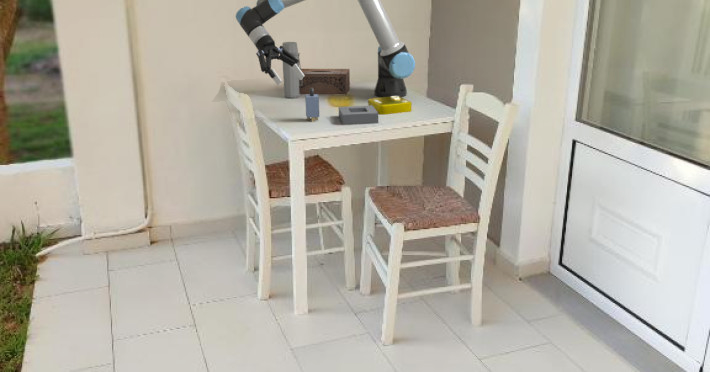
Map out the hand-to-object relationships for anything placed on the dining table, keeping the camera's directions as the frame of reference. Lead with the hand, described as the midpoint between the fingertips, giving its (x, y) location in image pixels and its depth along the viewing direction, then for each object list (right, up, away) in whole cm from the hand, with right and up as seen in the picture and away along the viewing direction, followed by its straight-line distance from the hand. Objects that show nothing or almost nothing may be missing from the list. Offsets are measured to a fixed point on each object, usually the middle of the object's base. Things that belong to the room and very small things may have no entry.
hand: (291, 80), depth 266 cm
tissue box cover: (+10, +3, +54) cm, 55 cm away
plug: (+9, -16, -1) cm, 18 cm away
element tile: (+40, -10, +15) cm, 45 cm away
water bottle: (-3, -1, +42) cm, 43 cm away
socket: (+27, -16, -1) cm, 31 cm away
